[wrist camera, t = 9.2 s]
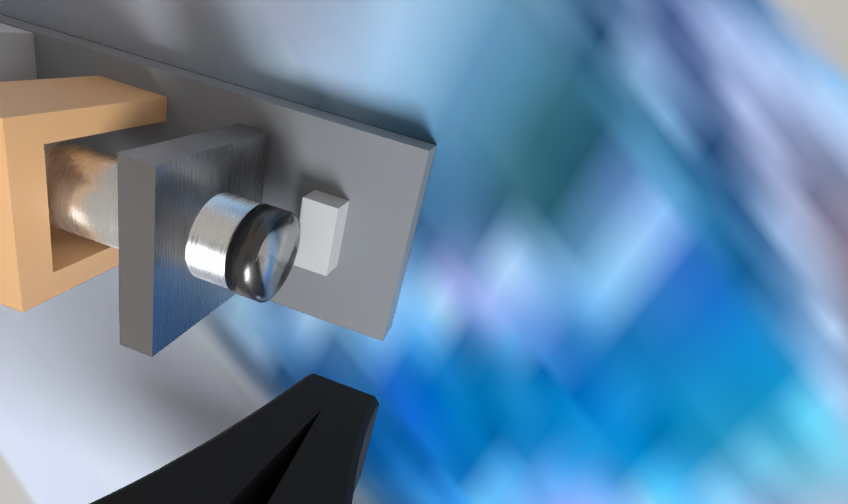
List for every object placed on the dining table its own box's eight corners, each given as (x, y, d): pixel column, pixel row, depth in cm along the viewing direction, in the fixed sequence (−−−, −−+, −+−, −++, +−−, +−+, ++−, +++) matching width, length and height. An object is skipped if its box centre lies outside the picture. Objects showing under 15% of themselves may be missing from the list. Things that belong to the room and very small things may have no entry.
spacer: (102, 221, 20) (-56, 281, 15) (98, 75, 17) (-89, 87, 12) (162, 243, 19) (22, 312, 14) (166, 97, 17) (2, 118, 12)
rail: (436, 145, 16) (381, 188, 11) (391, 327, 19) (330, 425, 14) (-46, 0, 19) (-266, -16, 14) (-22, 181, 22) (-196, 221, 17)
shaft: (328, 150, 16) (235, 191, 11) (304, 298, 18) (218, 382, 14) (-11, 44, 18) (-209, 44, 13) (5, 193, 20) (-159, 236, 15)
